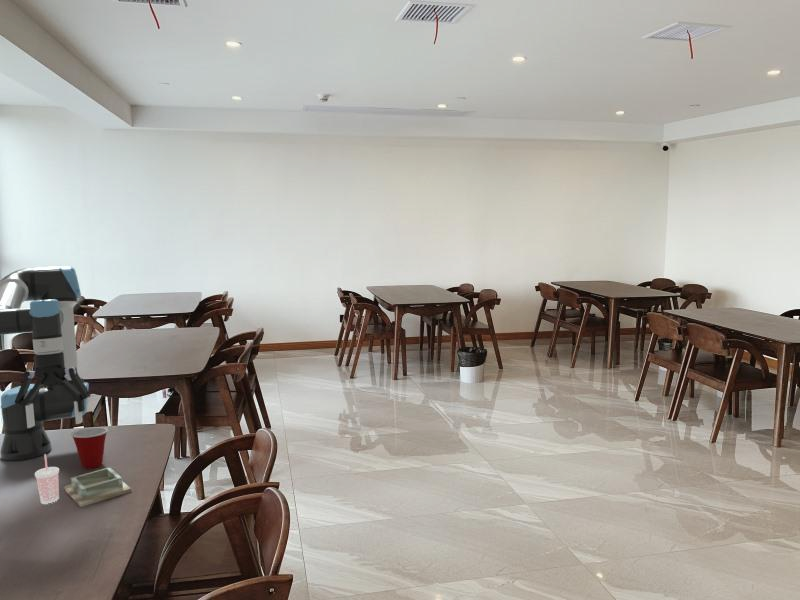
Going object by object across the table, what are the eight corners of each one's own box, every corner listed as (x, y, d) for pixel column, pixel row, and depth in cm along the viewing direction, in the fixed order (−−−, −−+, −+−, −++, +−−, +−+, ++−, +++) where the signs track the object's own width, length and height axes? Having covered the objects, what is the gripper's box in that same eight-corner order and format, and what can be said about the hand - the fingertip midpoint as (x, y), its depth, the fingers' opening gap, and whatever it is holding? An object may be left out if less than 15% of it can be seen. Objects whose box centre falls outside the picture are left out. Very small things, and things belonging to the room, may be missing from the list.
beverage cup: (38, 507, 173) (33, 460, 171) (37, 499, 179) (32, 453, 177) (63, 501, 177) (58, 455, 175) (61, 493, 182) (56, 448, 180)
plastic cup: (117, 459, 207) (114, 425, 205) (98, 472, 196) (95, 436, 195) (87, 458, 208) (83, 424, 206) (67, 472, 197) (63, 436, 196)
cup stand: (64, 489, 185) (62, 476, 184) (112, 475, 194) (111, 463, 194) (80, 507, 173) (79, 493, 172) (131, 491, 182) (130, 478, 182)
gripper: (-4, 357, 174) (3, 431, 175) (87, 351, 176) (93, 424, 177) (11, 354, 181) (18, 425, 182) (98, 348, 183) (104, 418, 184)
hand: (55, 425), depth 179 cm, fingers open, 13 cm apart
